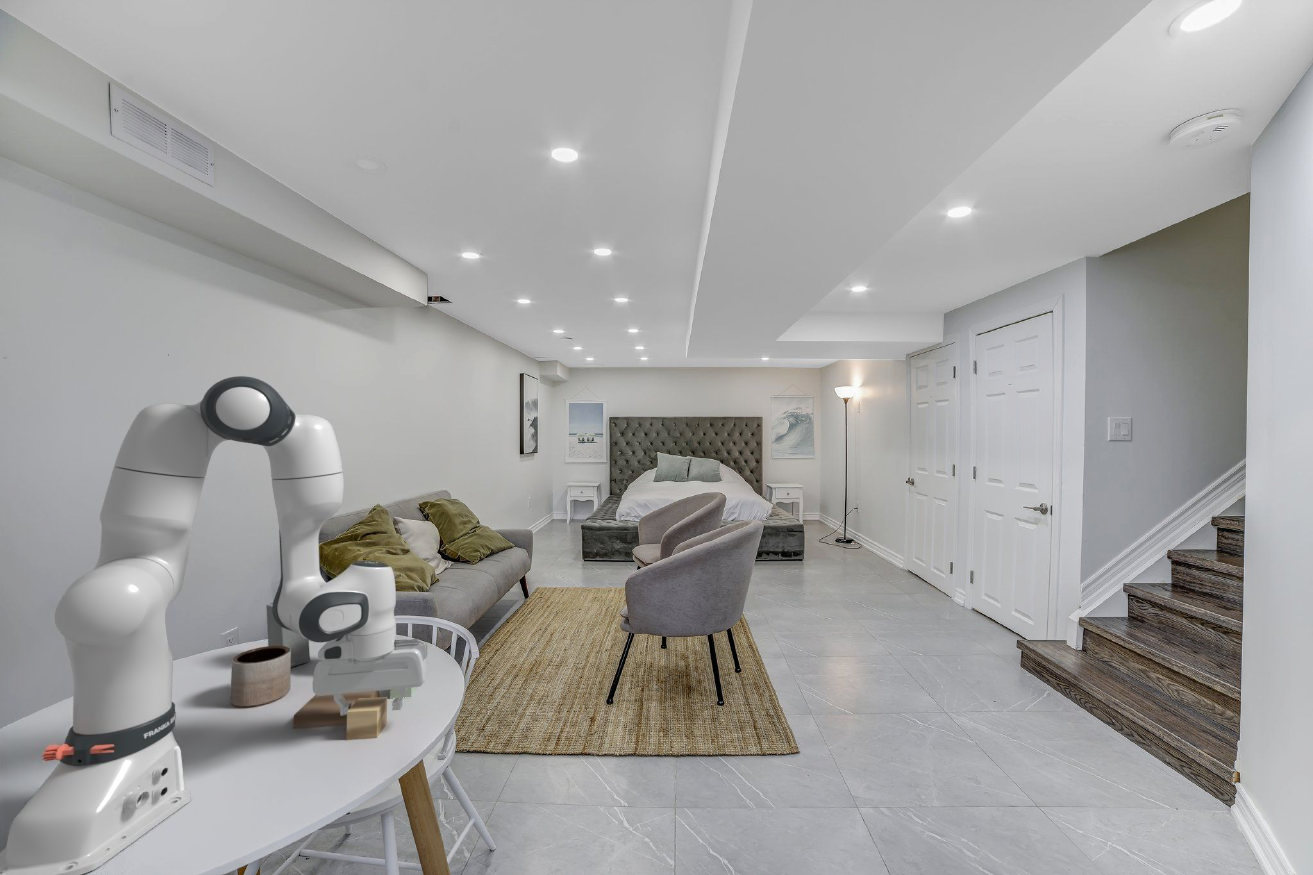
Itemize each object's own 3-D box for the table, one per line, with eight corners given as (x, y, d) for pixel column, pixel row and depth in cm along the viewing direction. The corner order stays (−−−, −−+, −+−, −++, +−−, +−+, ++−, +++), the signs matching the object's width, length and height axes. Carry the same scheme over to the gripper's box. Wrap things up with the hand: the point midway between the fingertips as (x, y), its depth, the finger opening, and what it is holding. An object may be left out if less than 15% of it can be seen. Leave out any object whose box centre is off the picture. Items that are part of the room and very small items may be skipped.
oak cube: (376, 738, 105) (377, 710, 105) (346, 740, 104) (347, 711, 104) (386, 723, 110) (387, 696, 110) (358, 725, 109) (358, 698, 109)
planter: (301, 687, 125) (302, 646, 126) (263, 710, 115) (264, 665, 115) (259, 684, 127) (259, 643, 127) (216, 707, 116) (218, 662, 116)
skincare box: (310, 662, 140) (311, 601, 140) (279, 671, 134) (281, 608, 134) (294, 655, 144) (295, 595, 144) (264, 664, 138) (265, 602, 138)
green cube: (411, 698, 121) (411, 678, 121) (390, 699, 120) (390, 679, 120) (417, 689, 126) (417, 669, 126) (396, 690, 125) (397, 670, 125)
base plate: (357, 724, 109) (357, 712, 109) (293, 727, 108) (293, 715, 108) (379, 696, 121) (379, 685, 121) (321, 699, 120) (322, 688, 120)
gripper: (430, 632, 112) (430, 698, 112) (322, 640, 108) (322, 708, 108) (423, 643, 106) (423, 713, 106) (308, 652, 102) (309, 725, 102)
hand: (371, 711), depth 107 cm, fingers open, 8 cm apart
